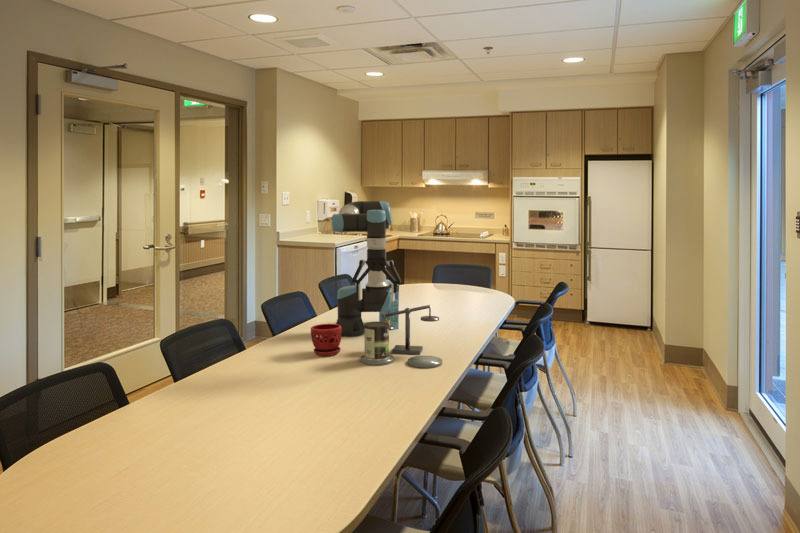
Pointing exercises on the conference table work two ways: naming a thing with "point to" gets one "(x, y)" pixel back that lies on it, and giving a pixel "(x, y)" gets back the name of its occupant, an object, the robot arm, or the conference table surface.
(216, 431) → the conference table surface
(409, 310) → the balance
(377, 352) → the coffee can
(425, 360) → the dish right
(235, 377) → the conference table surface
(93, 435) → the conference table surface
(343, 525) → the conference table surface
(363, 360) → the dish left
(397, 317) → the gum box
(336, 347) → the plant pot
